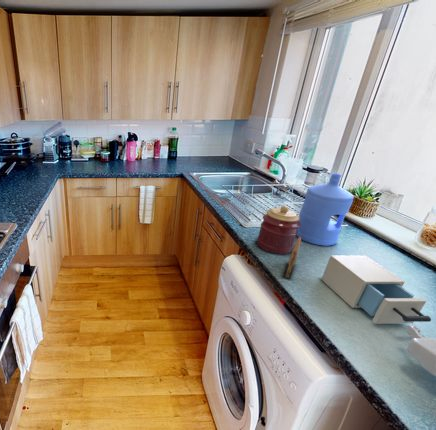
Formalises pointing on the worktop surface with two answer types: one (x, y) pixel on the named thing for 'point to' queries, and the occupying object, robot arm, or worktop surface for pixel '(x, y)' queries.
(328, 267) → the small drawer cabinet
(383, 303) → the cabinet drawer
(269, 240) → the kitchen canister
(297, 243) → the ammunition clip
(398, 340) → the worktop surface
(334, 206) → the water jug
